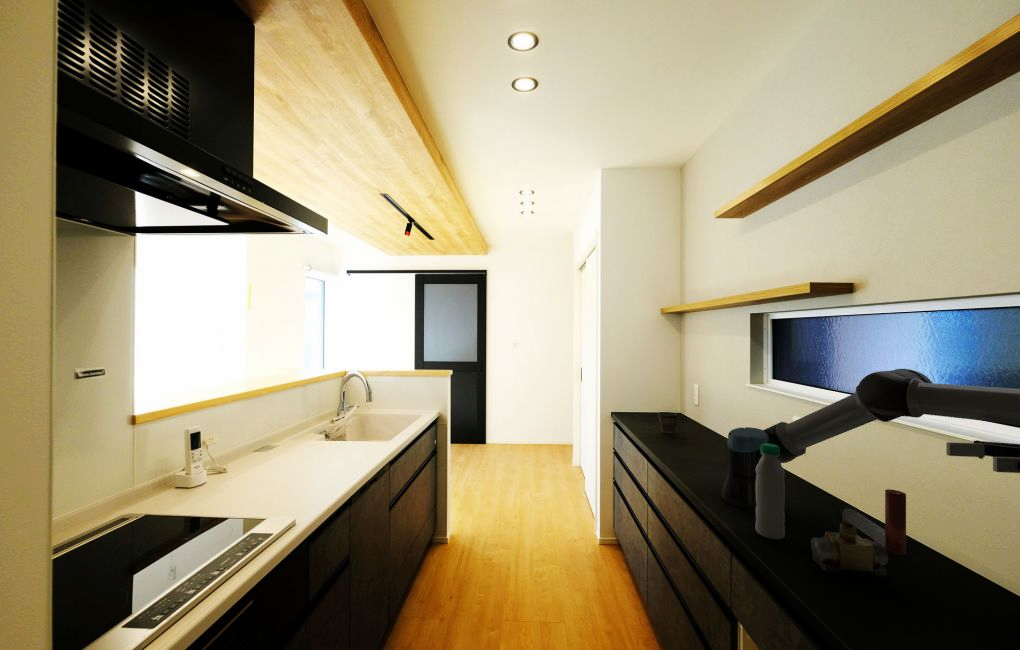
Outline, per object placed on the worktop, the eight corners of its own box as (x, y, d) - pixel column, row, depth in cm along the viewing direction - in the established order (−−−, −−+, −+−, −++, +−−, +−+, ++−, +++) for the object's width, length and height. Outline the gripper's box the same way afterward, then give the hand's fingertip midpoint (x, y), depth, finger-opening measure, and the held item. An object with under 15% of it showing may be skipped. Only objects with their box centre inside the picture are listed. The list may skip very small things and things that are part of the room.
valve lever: (838, 522, 103) (837, 466, 103) (852, 523, 103) (852, 467, 103) (892, 562, 86) (892, 495, 86) (910, 564, 85) (910, 495, 85)
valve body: (823, 572, 100) (823, 530, 100) (809, 558, 106) (809, 518, 106) (889, 577, 98) (889, 534, 98) (871, 563, 104) (871, 522, 104)
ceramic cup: (655, 432, 232) (655, 414, 232) (662, 428, 240) (661, 411, 240) (679, 436, 224) (679, 417, 224) (685, 432, 231) (685, 414, 231)
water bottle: (778, 529, 121) (778, 442, 121) (789, 541, 114) (789, 449, 114) (751, 527, 123) (751, 440, 123) (760, 539, 116) (760, 447, 116)
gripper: (1183, 504, 71) (1028, 496, 75) (1039, 462, 93) (924, 457, 96) (1183, 459, 71) (1028, 453, 75) (1039, 428, 93) (924, 425, 96)
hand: (970, 456), depth 85 cm, fingers open, 9 cm apart
